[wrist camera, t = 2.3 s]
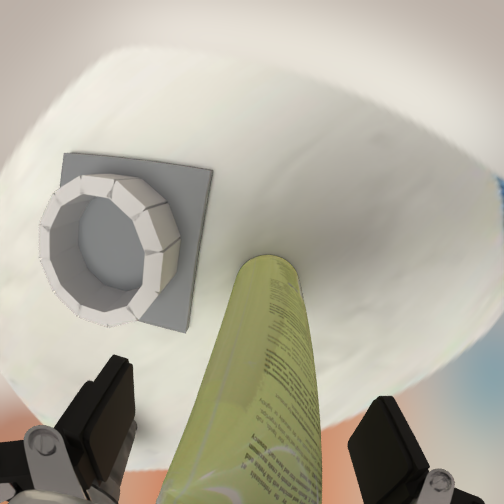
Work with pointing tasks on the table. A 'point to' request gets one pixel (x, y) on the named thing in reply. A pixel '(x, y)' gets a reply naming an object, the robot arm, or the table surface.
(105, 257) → the socket board
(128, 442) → the beverage cup
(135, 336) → the table surface
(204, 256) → the table surface
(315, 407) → the tube
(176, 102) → the table surface
